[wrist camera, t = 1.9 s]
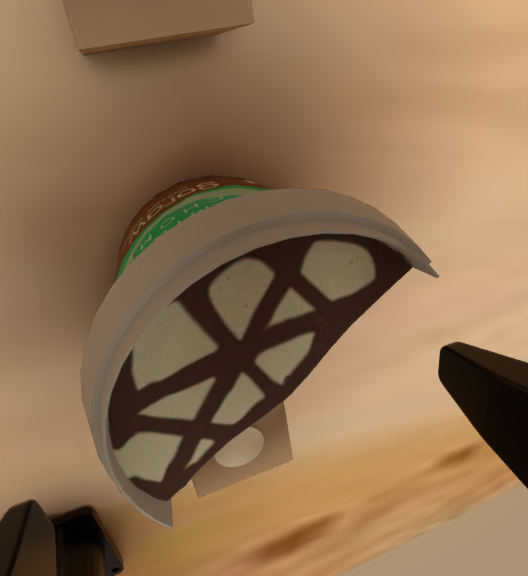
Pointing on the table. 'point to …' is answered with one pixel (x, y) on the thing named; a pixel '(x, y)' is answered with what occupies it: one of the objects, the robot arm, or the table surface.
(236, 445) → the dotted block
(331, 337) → the food container
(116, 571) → the robot arm
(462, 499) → the table surface
